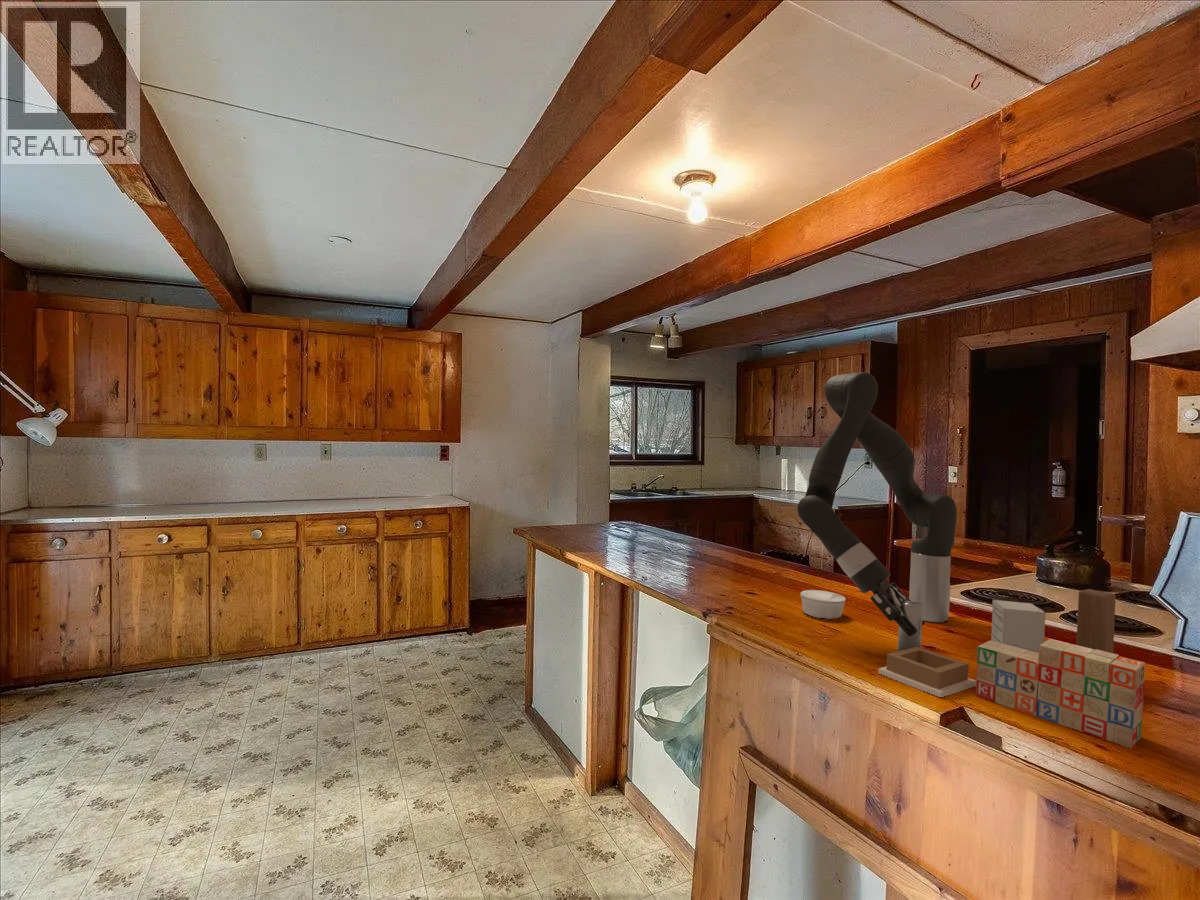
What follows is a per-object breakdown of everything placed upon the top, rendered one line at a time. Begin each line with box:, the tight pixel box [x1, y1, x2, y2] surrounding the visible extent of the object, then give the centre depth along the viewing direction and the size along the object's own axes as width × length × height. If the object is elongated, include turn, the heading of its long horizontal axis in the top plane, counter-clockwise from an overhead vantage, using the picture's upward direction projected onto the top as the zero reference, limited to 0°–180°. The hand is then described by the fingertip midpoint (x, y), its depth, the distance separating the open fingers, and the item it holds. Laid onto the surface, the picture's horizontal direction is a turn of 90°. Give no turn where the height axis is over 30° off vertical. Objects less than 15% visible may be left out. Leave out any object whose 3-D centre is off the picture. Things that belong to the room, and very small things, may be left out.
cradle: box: [878, 647, 977, 698], centre depth 110 cm, size 12×12×4 cm
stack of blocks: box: [975, 638, 1146, 749], centre depth 96 cm, size 21×6×12 cm, turn 36°
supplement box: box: [990, 599, 1046, 653], centre depth 119 cm, size 7×7×13 cm
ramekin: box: [799, 589, 846, 620], centre depth 152 cm, size 11×11×5 cm
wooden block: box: [1075, 588, 1117, 654], centre depth 112 cm, size 9×4×18 cm, turn 121°
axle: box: [897, 601, 923, 652], centre depth 124 cm, size 4×4×11 cm
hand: (917, 629), depth 123 cm, fingers open, 7 cm apart
